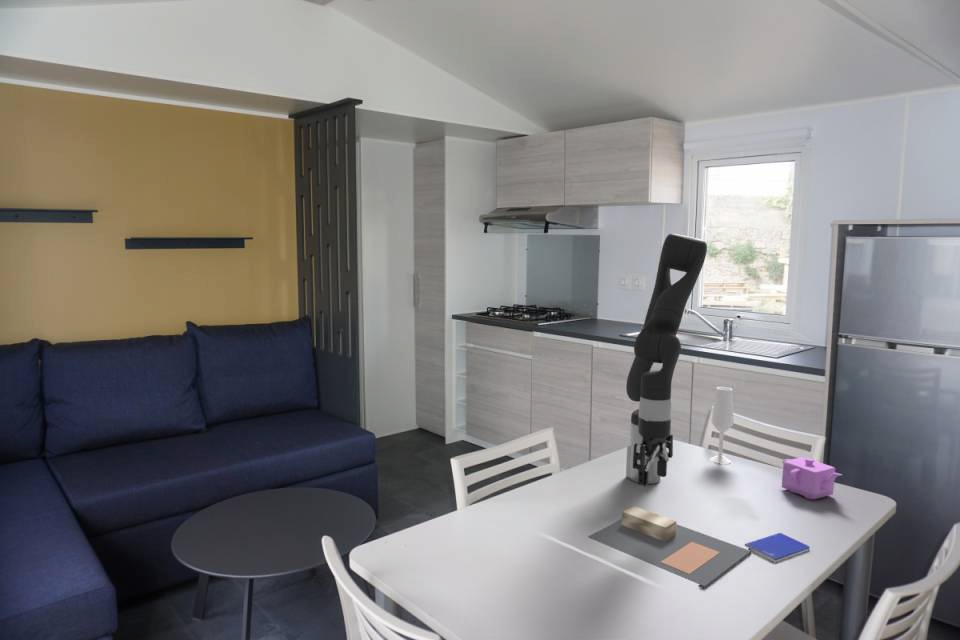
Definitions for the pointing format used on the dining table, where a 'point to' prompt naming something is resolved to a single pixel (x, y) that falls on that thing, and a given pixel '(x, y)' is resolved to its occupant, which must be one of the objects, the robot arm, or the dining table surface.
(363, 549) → the dining table surface
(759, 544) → the hard drive
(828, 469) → the teapot
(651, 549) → the rubber mat
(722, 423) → the champagne flute
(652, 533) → the cream block
